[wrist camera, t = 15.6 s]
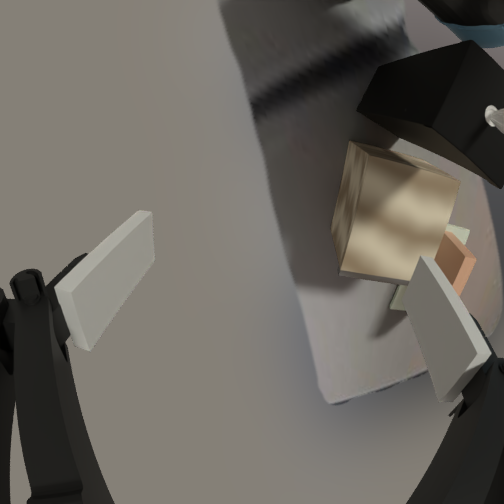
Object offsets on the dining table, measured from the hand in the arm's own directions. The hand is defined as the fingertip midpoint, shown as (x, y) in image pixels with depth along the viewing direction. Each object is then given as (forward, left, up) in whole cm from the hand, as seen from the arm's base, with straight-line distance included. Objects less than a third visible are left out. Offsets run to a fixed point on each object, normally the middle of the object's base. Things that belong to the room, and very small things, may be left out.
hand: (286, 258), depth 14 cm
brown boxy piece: (+4, +14, -31) cm, 34 cm away
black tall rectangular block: (-10, +13, -31) cm, 35 cm away
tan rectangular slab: (+15, +28, -30) cm, 44 cm away
